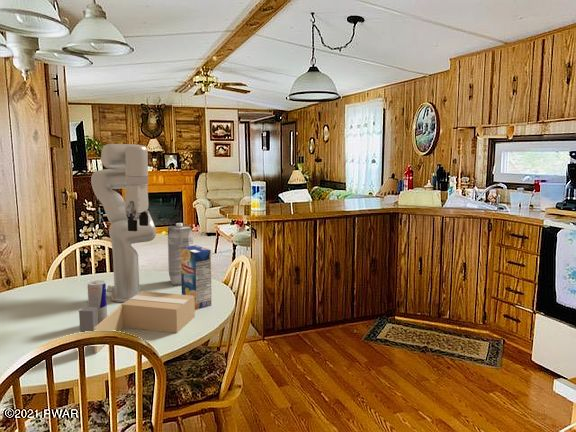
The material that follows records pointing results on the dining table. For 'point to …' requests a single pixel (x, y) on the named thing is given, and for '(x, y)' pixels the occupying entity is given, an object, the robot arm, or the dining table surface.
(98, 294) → the beverage can
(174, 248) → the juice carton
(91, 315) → the side flap
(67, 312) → the dining table surface
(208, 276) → the beverage box
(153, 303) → the kraft carton
